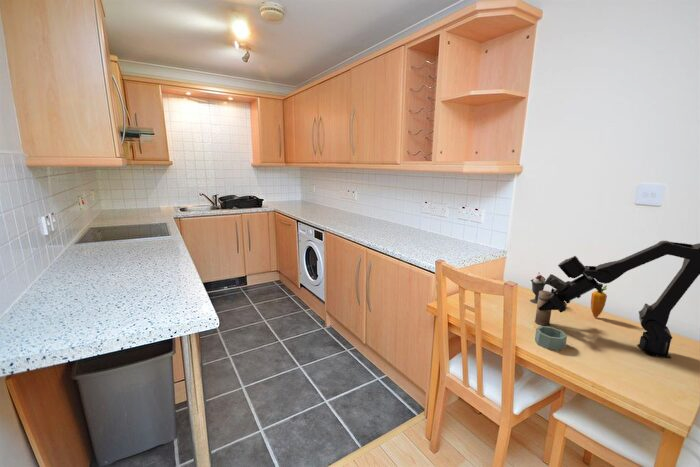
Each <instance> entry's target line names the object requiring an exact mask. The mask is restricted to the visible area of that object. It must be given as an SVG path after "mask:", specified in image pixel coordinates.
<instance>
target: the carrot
mask: <svg viewBox="0 0 700 467" xmlns="http://www.w3.org/2000/svg"><path fill="white" fill-rule="evenodd" d="M607 287H608V285H606V284H604V285H603V287H602V290H601V293H600V292H598V291H597V290H594V291H592V292H591V298H590V309H591V313H592V316H593V317H594V318H595V319H596V318H598V317H599V316H600V315H601V313H602V312H603V311H604V308H605V306H606V303H607V297H608V295H607V294H606V293H605V292H604V291H606V290H607Z"/></svg>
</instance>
